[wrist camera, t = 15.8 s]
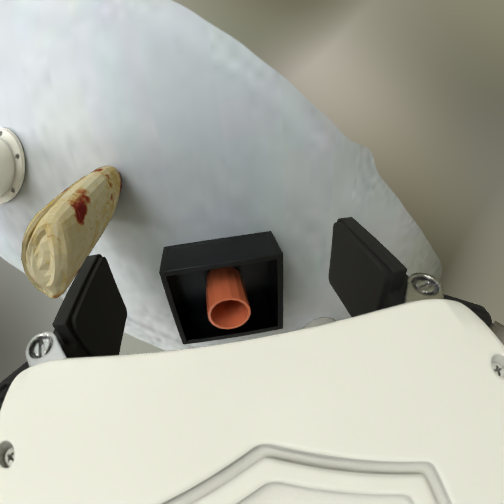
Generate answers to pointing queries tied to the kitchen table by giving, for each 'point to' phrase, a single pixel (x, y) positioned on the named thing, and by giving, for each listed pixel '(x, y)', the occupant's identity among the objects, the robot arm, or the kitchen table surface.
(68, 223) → the food model
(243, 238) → the black storage bin
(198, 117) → the kitchen table surface
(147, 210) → the kitchen table surface
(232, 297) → the cup
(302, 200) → the kitchen table surface
